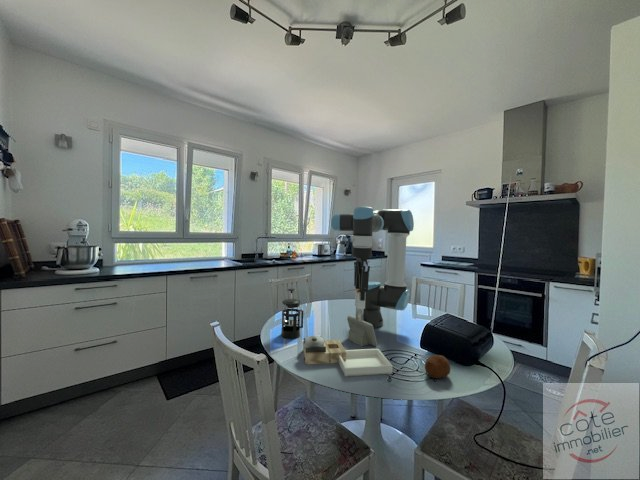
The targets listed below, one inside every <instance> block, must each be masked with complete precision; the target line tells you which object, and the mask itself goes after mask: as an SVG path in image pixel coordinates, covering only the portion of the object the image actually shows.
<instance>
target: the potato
mask: <svg viewBox="0 0 640 480" xmlns="http://www.w3.org/2000/svg"><path fill="white" fill-rule="evenodd" d="M424 369H425V372H426V373H427V375H428V376H429V377H431V378H433V379H441V378H445V377H447V376H448V375H450V373H451V366H450V362H449V360H448V359H447V358H446V357H445V356H444V355H441V354H434V355H431V356H429V357H427V359H426V360H425V364H424Z"/></svg>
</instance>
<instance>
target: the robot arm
mask: <svg viewBox="0 0 640 480" xmlns="http://www.w3.org/2000/svg"><path fill="white" fill-rule="evenodd" d="M414 221H415V220H414V216H413V213H412V211H411V210H410V209H406V208H392V209H379V210H374V209H373V207H371V206H357V207H354V208H353V213H339V214H338V213H337V214H334V215H333V216H332V217H331V220H330V222H331V227H332V230H333V231H336V232H352V238H350V239H351V241H352V246H353V247H352V249H351V250H352V251H351V256H352V257H353V258H356V260H355V261H354V262H353V266H354V267H353V268H354V269H353V270H354V271H353V280H354V281H353V286H354V287H355V291H356V290H357V289H358V288H359V290H357V292H358V309H364V312H363V321H365V322H368V323H370V324H372V325H373V329H374V328H381V327H382V326H383V325H384V318H383V315H382V312H381V308H385V309H390V310H395V311H405V309H407V307H408V305H409V301H410V297H411V295H410V294H411V291H410V290H411V289H409V288H408V287H407V286H408V284H406V282H405V268H406V253H407V251H406V250H407V238H408V237H409V236H410V233H411V232H412V231H414V227H415V226H414V224H415V223H414ZM380 231H387V232H386V233H387V235H388V236H389V247H388V249H389V250H388V251H389V252H388V268H387V280H386V281H385V282H384V285H382V282H379V281H369V277H370V270H371V267H370V265H369V263H368V258H369V259H370V258H372V256H373V255H372V254H373V252H372V251H373V248H372V247H373V237H374V236H373V233H377V232H380ZM354 300H355V301H354V306H355V307H356V293H355V298H354Z"/></svg>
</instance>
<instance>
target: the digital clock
mask: <svg viewBox="0 0 640 480" xmlns="http://www.w3.org/2000/svg"><path fill="white" fill-rule="evenodd" d="M355 318H356V316H353V315H348V316H347V319H346V320H347V323H348V327H349V331H348V341H349V342H353V343H355V344H356V345H358V346H360V347H364V346H368V345H370V346H377V345H378V344H377V337H376V333H375V330H374V328H373V325H372V324H370V323H368V322H365V321H357V320H355Z"/></svg>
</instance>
